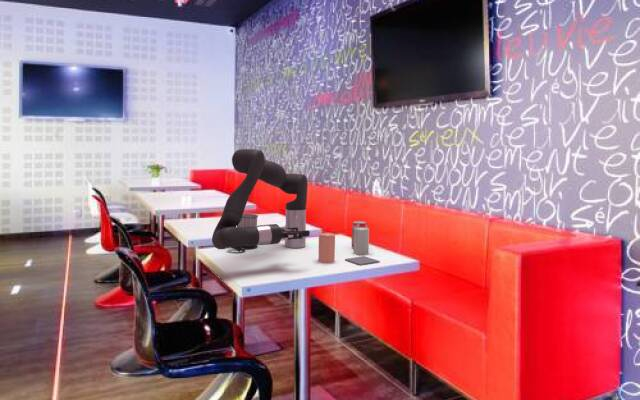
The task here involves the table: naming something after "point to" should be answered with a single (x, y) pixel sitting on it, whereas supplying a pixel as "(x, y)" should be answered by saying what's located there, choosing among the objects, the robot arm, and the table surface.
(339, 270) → the table surface
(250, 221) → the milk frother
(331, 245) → the cup terracotta
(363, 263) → the mat
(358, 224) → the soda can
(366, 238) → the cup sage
